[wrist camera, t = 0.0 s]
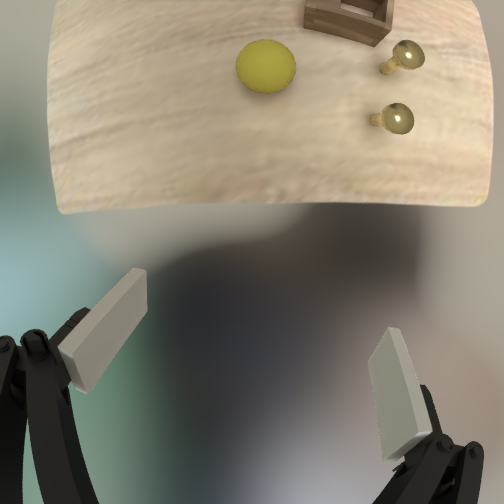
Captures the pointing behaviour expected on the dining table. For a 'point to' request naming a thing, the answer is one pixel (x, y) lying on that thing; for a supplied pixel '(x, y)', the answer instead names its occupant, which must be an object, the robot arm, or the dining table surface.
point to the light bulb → (265, 66)
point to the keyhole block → (350, 19)
